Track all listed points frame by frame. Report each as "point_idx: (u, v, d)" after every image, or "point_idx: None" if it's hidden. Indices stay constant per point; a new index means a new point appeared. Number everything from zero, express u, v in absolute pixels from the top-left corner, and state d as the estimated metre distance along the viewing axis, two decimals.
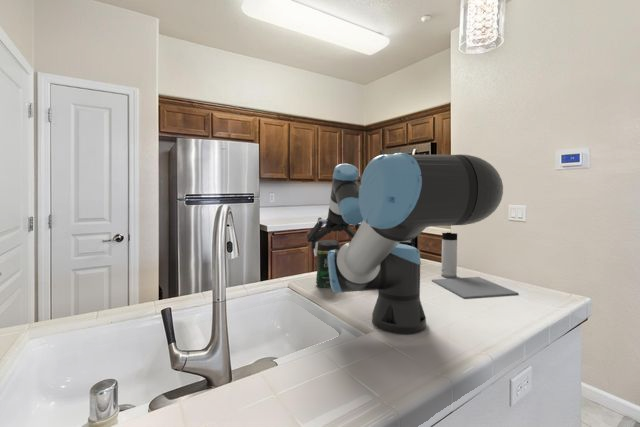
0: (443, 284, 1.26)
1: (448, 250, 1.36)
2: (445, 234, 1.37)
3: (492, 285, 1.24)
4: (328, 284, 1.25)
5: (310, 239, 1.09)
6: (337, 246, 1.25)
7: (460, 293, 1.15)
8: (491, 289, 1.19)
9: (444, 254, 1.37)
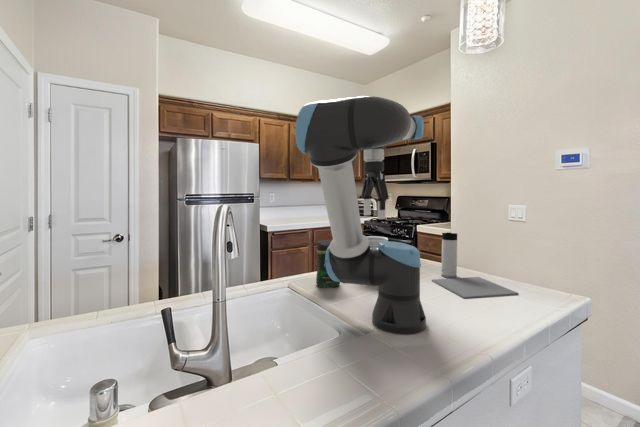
0: (443, 284, 1.26)
1: (448, 250, 1.36)
2: (445, 234, 1.37)
3: (492, 285, 1.24)
4: (328, 284, 1.25)
5: (362, 194, 1.29)
6: None
7: (460, 293, 1.15)
8: (491, 289, 1.19)
9: (444, 254, 1.37)
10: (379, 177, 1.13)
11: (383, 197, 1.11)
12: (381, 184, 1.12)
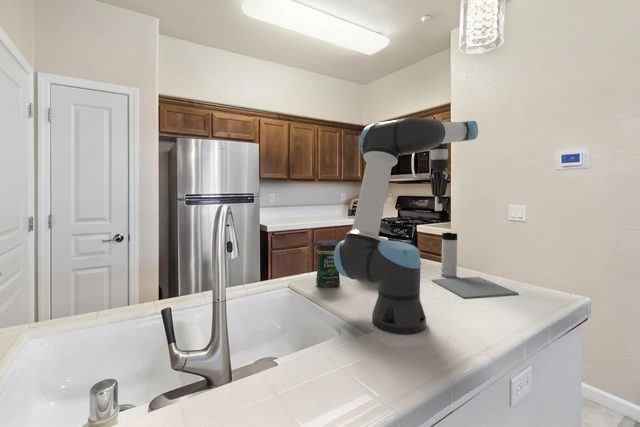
0: (443, 284, 1.26)
1: (448, 250, 1.36)
2: (445, 234, 1.37)
3: (492, 285, 1.24)
4: (328, 284, 1.25)
5: (432, 192, 1.48)
6: None
7: (460, 293, 1.15)
8: (491, 289, 1.19)
9: (444, 254, 1.37)
10: (444, 177, 1.39)
11: (441, 193, 1.42)
12: (443, 183, 1.40)
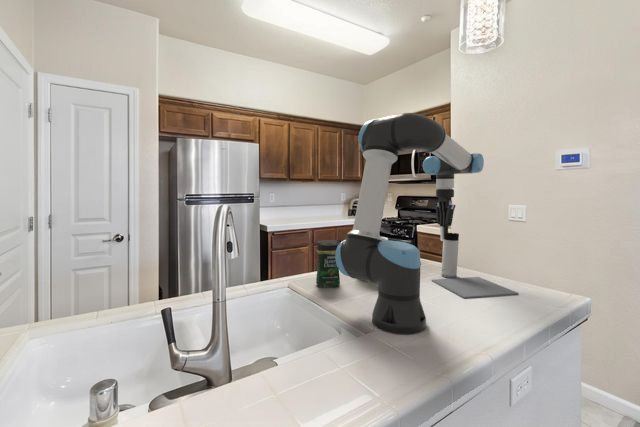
0: (443, 284, 1.26)
1: (449, 251, 1.35)
2: (447, 234, 1.36)
3: (492, 285, 1.24)
4: (328, 284, 1.25)
5: (437, 221, 1.45)
6: (337, 246, 1.25)
7: (460, 293, 1.15)
8: (491, 289, 1.19)
9: (445, 254, 1.37)
10: (450, 208, 1.36)
11: (447, 224, 1.38)
12: (449, 214, 1.37)
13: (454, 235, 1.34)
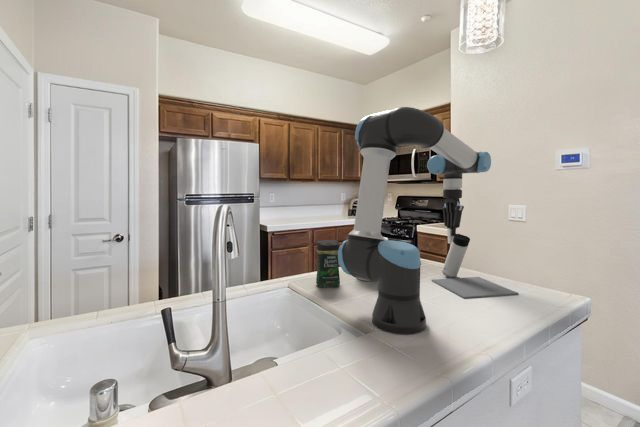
0: (443, 284, 1.26)
1: (456, 255, 1.31)
2: (457, 239, 1.29)
3: (492, 285, 1.24)
4: (328, 284, 1.25)
5: (444, 223, 1.39)
6: (337, 246, 1.25)
7: (460, 293, 1.15)
8: (491, 289, 1.19)
9: (451, 256, 1.33)
10: (458, 209, 1.30)
11: (455, 226, 1.33)
12: (457, 215, 1.31)
13: (465, 242, 1.27)
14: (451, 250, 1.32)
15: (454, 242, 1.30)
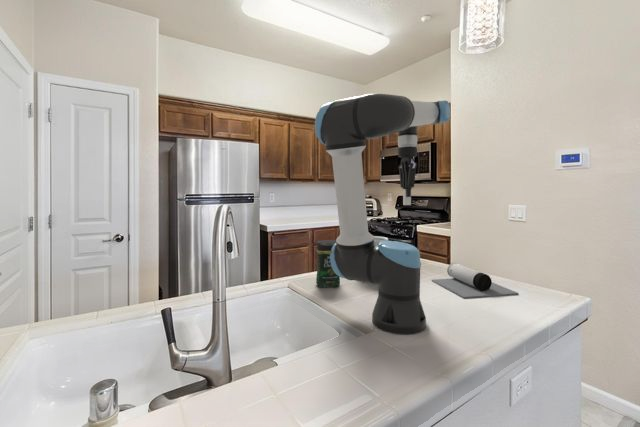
0: (443, 284, 1.26)
1: (467, 283, 1.25)
2: (477, 285, 1.17)
3: (492, 285, 1.24)
4: (328, 284, 1.25)
5: (401, 184, 1.32)
6: None
7: (460, 293, 1.15)
8: (491, 289, 1.19)
9: (462, 279, 1.26)
10: (411, 167, 1.23)
11: (409, 185, 1.25)
12: (411, 173, 1.24)
13: None
14: (466, 278, 1.23)
15: (473, 281, 1.19)
